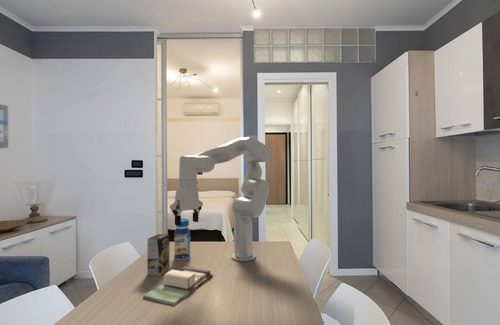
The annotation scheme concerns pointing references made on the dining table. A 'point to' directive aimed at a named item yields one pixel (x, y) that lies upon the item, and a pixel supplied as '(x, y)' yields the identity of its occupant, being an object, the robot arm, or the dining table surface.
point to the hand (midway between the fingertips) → (186, 223)
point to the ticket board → (178, 288)
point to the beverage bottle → (182, 241)
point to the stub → (179, 279)
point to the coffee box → (158, 254)
